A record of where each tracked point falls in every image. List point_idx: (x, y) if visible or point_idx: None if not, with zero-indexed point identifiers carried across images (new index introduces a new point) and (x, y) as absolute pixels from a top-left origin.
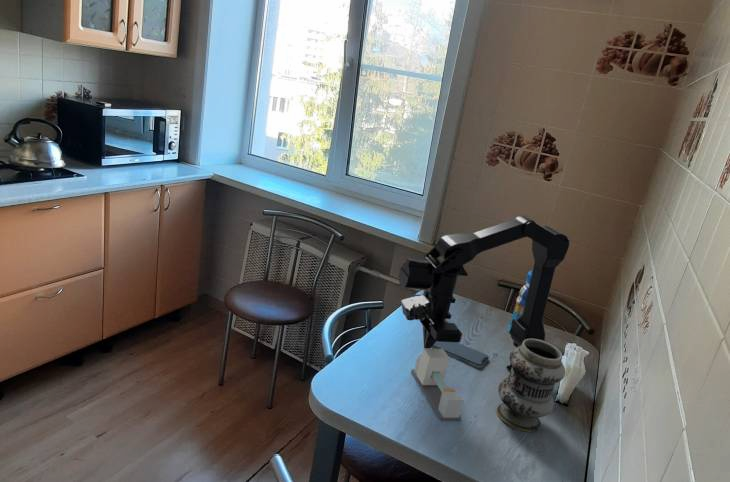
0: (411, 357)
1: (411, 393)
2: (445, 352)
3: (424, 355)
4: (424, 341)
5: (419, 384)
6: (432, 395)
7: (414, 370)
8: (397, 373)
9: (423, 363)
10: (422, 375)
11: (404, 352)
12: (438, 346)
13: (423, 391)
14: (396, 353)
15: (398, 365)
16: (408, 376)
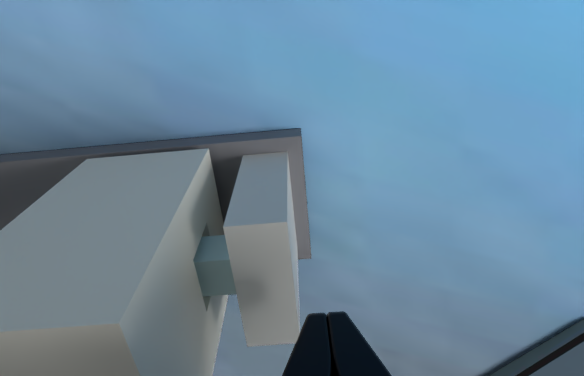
0: (487, 177)
1: (29, 62)
2: (510, 372)
3: (64, 281)
4: (345, 371)
5: (139, 146)
6: (10, 196)
7: (288, 151)
8: (270, 11)
9: (85, 227)
10: (95, 180)
11: (557, 143)
12: (569, 359)
13: (64, 152)
14: (555, 75)
15: (385, 49)
16: (244, 94)
